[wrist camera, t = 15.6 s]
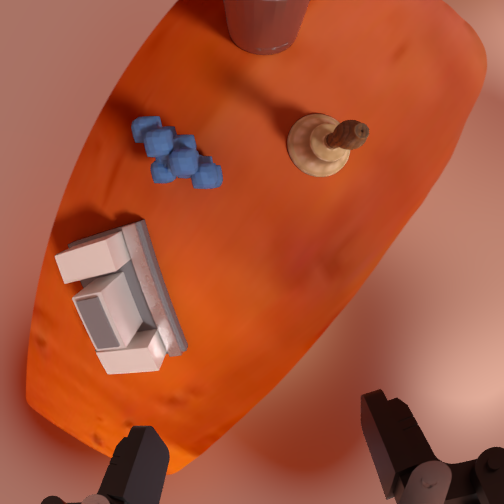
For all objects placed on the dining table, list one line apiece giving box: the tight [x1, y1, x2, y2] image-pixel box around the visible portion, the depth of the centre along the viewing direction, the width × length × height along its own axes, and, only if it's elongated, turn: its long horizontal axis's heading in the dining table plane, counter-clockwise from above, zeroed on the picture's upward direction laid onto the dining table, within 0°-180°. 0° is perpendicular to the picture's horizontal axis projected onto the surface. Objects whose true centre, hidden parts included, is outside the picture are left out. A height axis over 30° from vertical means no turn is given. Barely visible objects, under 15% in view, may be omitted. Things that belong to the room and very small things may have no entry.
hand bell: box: [287, 114, 369, 177], centre depth 27 cm, size 8×8×16 cm
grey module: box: [72, 272, 143, 351], centre depth 36 cm, size 8×5×7 cm, turn 14°
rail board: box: [55, 219, 188, 374], centre depth 37 cm, size 20×13×6 cm, turn 13°
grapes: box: [131, 116, 223, 189], centre depth 30 cm, size 12×7×12 cm, turn 48°
